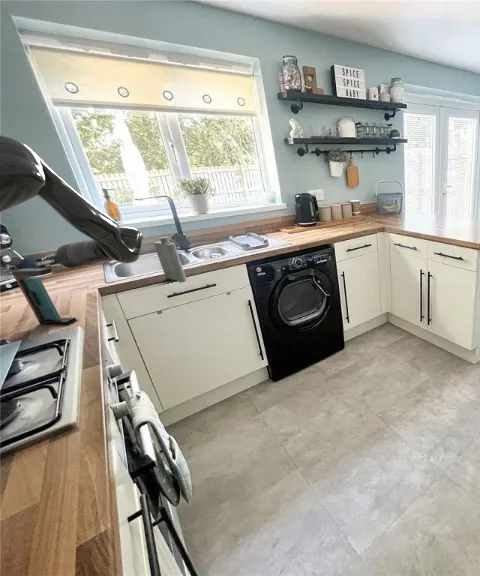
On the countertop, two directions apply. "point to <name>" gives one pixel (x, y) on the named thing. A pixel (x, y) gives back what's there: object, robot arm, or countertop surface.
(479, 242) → the countertop surface
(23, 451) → the countertop surface
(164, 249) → the hip flask
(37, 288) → the door
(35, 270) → the door frame
